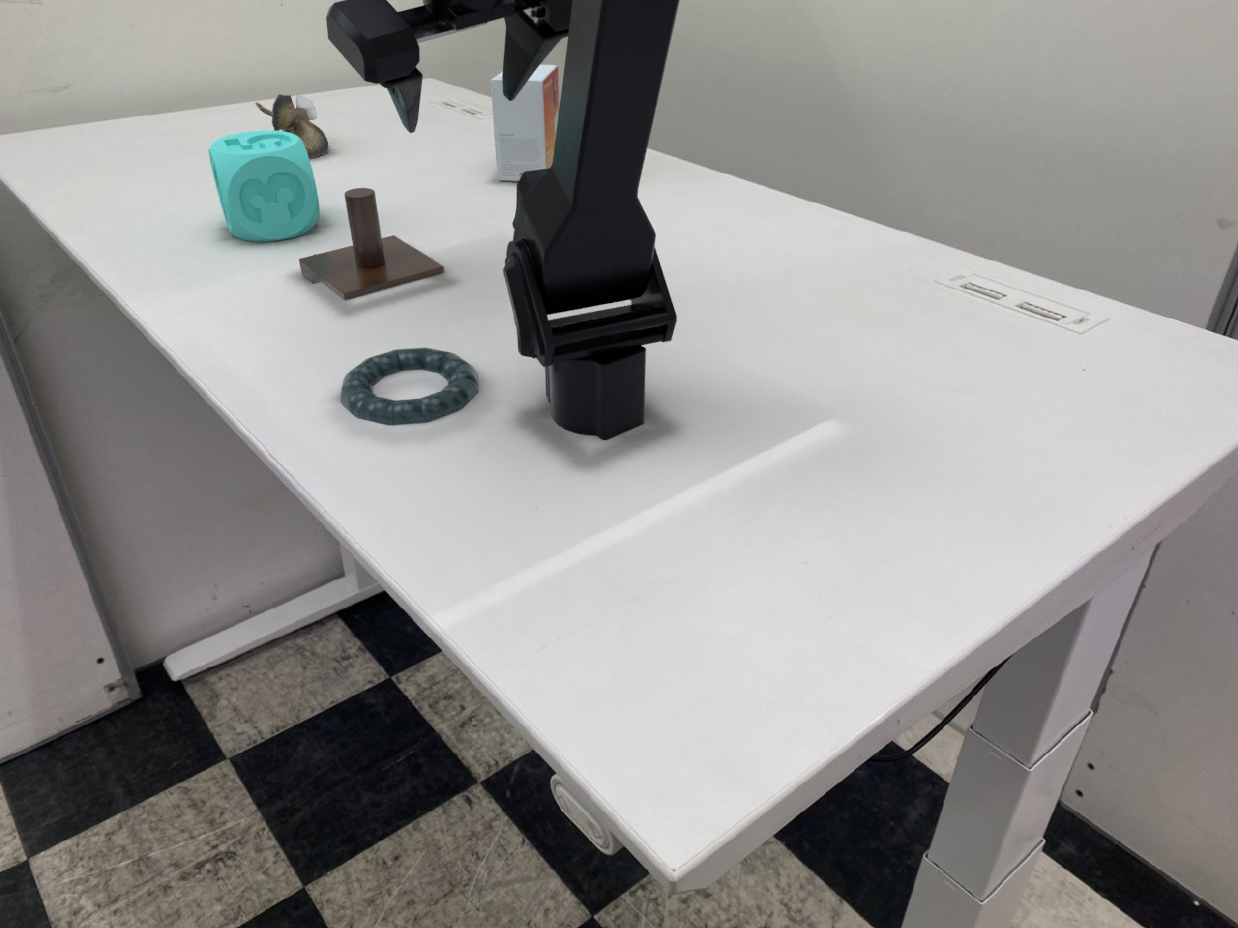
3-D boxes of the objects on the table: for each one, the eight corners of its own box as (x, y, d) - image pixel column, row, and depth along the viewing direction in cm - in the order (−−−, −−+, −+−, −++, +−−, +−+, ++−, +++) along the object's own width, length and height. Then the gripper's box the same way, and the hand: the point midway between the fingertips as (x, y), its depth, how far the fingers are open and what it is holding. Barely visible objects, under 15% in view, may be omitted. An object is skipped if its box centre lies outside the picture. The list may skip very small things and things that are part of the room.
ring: (504, 406, 62) (502, 380, 61) (382, 453, 58) (377, 426, 56) (437, 356, 68) (434, 331, 67) (321, 394, 63) (316, 369, 62)
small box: (546, 184, 100) (542, 81, 94) (496, 181, 100) (489, 78, 94) (562, 162, 106) (559, 64, 100) (514, 159, 107) (509, 62, 101)
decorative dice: (224, 220, 90) (203, 136, 86) (307, 207, 93) (291, 126, 89) (237, 248, 85) (215, 160, 80) (325, 233, 88) (309, 148, 83)
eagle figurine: (243, 135, 110) (259, 140, 103) (264, 77, 109) (281, 77, 102) (305, 163, 114) (325, 169, 107) (325, 108, 114) (346, 110, 106)
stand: (445, 282, 79) (436, 196, 74) (347, 311, 74) (330, 220, 70) (396, 250, 84) (384, 168, 80) (301, 275, 80) (284, 189, 75)
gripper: (515, -169, 67) (501, 28, 80) (273, -128, 59) (301, 84, 72) (606, -89, 64) (576, 104, 77) (361, -34, 55) (374, 172, 68)
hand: (459, 113), depth 74 cm, fingers open, 9 cm apart
